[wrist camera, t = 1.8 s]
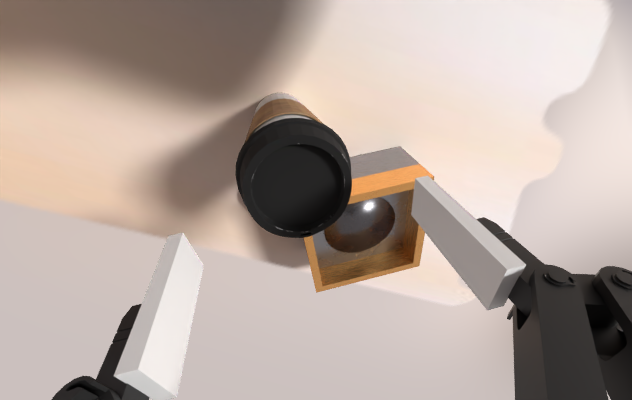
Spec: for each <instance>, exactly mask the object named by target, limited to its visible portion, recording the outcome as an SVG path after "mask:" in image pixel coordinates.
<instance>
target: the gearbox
mask: <svg viewBox="0 0 632 400" xmlns="http://www.w3.org/2000/svg"><path fill="white" fill-rule="evenodd" d="M350 162H351V177H352V190H351V195H350V199H349V202H348V205H347V207H346V209H345V211H344V212H343V214H342V215H341V217H340V218H339V219H338V220H337V221H336V222H335V223H334V224H332V225H331V226H329V227H328V228H326V229H325V230H323V231H321V232H319V233H317V234H314V235H312V236H309V237H305V238H304V242H305V246H306V250H307V254H308V259H309V263H310V267H311V271H312V276H313V279H314V283H315V288H316V292H320V291H324V290H328V289H332V288H336V287H340V286H344V285H347V284H351V283H355V282H359V281H363V280H367V279H371V278H375V277H379V276H382V275H386V274H390V273H394V272H398V271H402V270H406V269H409V268H413V267H417V266H419V265H420V259H421V253H422V247H423V241H424V235H425V232H424V230H423V229H422V228H421V227H420V225H419V224H418V223H417V221H416V220H415V219H414V218H413V216H412V215H411V212H412V203H413V194H414V185H415V178H419V177H423V176H427V175H428V176H429V177H430V178H431V179H432V180H433V181H434V176H433V175H432V174H430V173H429V172H428V171H427V170H426V169H425V168H424V167H423V166H421V165H420V164H419V163H418V162H417V161H416V160H415V159H414V158H412V157H411V156H410V155H409V154H408V153H407V152H406V151H405V150H404V149H402V148H401V147H395V148H390V149H386V150H381V151H377V152H372V153H368V154H363V155H359V156H354V157H350Z"/></svg>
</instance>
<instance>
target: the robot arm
mask: <svg viewBox="0 0 632 400" xmlns="http://www.w3.org/2000/svg"><path fill="white" fill-rule="evenodd" d="M411 215H412V216H413V218H414V219H415V220H416V221H417V223H418V224H419V225H420V227H421V228H422V229H423V230H424V232H425V233H426V234H427V235H428V237H429V238H430V239H431V240H432V242H433V243H434V244H435V245H436V247H437V248H438V249H439V250H440V252H441V253H442V254H443V255H444V257H445V258H446V259H447V260H448V262H449V263H450V264H451V265H452V267H453V268H454V269H455V270H456V272H457V273H458V274H459V275H460V277H461V278H462V279H463V280H464V282H465V283H466V284H467V285H468V287H469V288H470V289H471V290H472V292H473V293H474V294H475V296H476V297H477V298H478V299H479V300H480V302H481V303H482V304H483V306H484V307H485V308H486V309H487V310H490V309H494V308H497V307H501V306H504V304H505V302H506V301H507V299H508V298H509V299H510V300H511V301H512V302H513V303H514V305H513V307H512V309H511V310H510V312H509V314H508V317H507V319H509V320H510V319H511V317H512V316H513V340H514V341H513V342H514V375H515V400H608V396H607V392H608V395H609V396H610V399H611V400H632V272H631V271H629V270H626V269H624V268H619V267H615V266H607V267H604V268H601V269H600V270H599V272H598V273H597V274H596V275H588V274H571V273H569V272H568V271H566V270H564V269H562V268H560V267H557V266H553V265H545V264H544V263H542V262H541V261H540V260H538V259H537V258H536V257H535V256H534V255H532V254H531V253H530V252H529V251H528V250H527V249H526V248H524V247H523V246H522V245H521V244H520V243H518V242H517V241H516V240H515V239H513V238H512V237H511V236H510V235H509V234H508V233H507V232H506V233H505V231H504V230H503V229H502V228H501V227H500V226H498V225H497V224H496V223H494V222H492V221H490V220H488V219H486V218H484V217H483V218H479V219H475V218H474V217H473V216H472V215H471V214H470V213H469V212H468V211H467V210H465V209H464V208H463V207H462V206H461V205H460V204H459V203H458V202H457V201H456V200H454V199H453V198H452V197H451V196H450V195H449V194H448V193H447V192H446V191H444V190H443V189H442V188H441V187H440V186H439V185H438V184H437V183H436V182H435V181H433V180H432V179H431V178H430V177H429V176H428V175H427V176H423V177H419V178H415V185H414V194H413V203H412V212H411ZM203 267H204V265H203V264H202V262H201V260H200V259H199V258H198V256H197V254H196V252H195V251H194V249H193V248H192V246H191V244H190V243H189V241H188V240H187V238H186V236H185V235H184V233H179V234H174V235H170V236H168V238H167V241H166V243H165V246H164V248H163V251H162V254H161V256H160V259H159V261H158V264H157V266H156V269H155V271H154V274H153V277H152V279H151V282H150V284H149V287H148V290H147V292H146V294H145V297H144V300H143V302H142V304H139V305H135V306H132V307H131V308H130V310H129V311H128V312H127V313H126V315H125V316H124V317H123V319H122V321H121V323H120V325H119V328H118V330H117V333H116V335H115V337H114V339H113V344H111V346H110V348H109V351H108V353H107V355H106V358H105V360H104V362H103V364H102V367H101V369H100V371H99V374H98V376H97V378H96V380H95V379H93V378H92V377H90V376H82V377H79V378H76V379H74V380H72V381H71V382H69V383H68V384H66V385H65V386H64V387H63V388H62V389H61V390H60V391H59V392H57V393H56V395H55V396H54V397H53V399H52V400H149V398H150V399H152V400H169V399H172V398H176V397H177V395H178V390H179V385H180V380H181V375H182V370H183V365H184V360H185V355H186V350H187V345H188V341H189V336H190V331H191V326H192V321H193V316H194V311H195V306H196V301H197V296H198V291H199V286H200V281H201V276H202V271H203ZM606 391H607V392H606Z"/></svg>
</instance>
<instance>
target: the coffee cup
mask: <svg viewBox="0 0 632 400" xmlns="http://www.w3.org/2000/svg"><path fill="white" fill-rule="evenodd" d="M236 180H237V185H238V189H239V192H240V194H241V196H242V198H243V200H244V202H245V204H246V207H247V209H248V211H249V213H250V214H251V216H252V217H253V219H254V220H255V221H256V222H257V223H258V224H259V225H260V226H261V227H262V228H264V229H265V230H267V231H268V232H271V233H273V234H275V235H279V236H283V237H293V238H305V237H309V236H312V235H314V234H317V233H319V232H321V231H323V230H325V229H326V228H328V227H329V226H331V225H332V224H334V223H335V222H336V221H337V220H338V219H339V218H340V217H341V215H342V214H343V212H344V211H345V209H346V207H347V205H348V202H349V199H350V195H351V190H352V177H351V162H350V157H349V154H348V152H347V149H346V146H345V144H344V143H343V141H342V140H341V138H340V137H339V136H338V135H337V134H336V133H335V132H334V131H333V130H332V129H331V128H329V127H327V126H326V125H324V124H323V123H322V122H321V121H320V120H319V119H318V118H317V117H316V116H314V115H313V114H312V113H311V112H310V111H309V110H308V109H307V108H306V107H305V106H304V105H303V104H302V103H301V102H300V101H299V100H298V99H297V98H295V97H294V96H292V95H289V94H286V93H275V94H271V95H269V96H267V97H265V98H264V99H263V100H262V101H261V102H260V103H259V104H258V106H257V108H256V110H255V114H254V118H253V120H252V123H251V126H250V129H249V132H248V135H247V138H246V141H245V143H244V145H243V147H242V149H241V151H240V153H239V155H238V159H237V162H236Z"/></svg>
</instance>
